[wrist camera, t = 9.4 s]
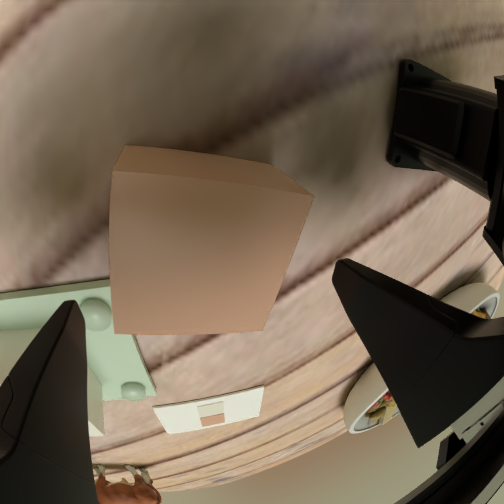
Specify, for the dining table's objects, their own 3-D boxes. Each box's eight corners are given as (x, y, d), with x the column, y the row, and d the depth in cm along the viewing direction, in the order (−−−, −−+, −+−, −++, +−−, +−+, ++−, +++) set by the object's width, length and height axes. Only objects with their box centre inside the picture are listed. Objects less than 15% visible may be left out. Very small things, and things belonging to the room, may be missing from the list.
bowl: (472, 318, 43) (495, 342, 36) (363, 414, 47) (380, 443, 41) (485, 228, 24) (530, 265, 18) (297, 399, 29) (326, 455, 22)
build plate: (115, 278, 13) (113, 293, 12) (156, 389, 19) (158, 402, 18) (-58, 300, 9) (-64, 313, 8) (13, 394, 15) (12, 406, 14)
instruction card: (263, 384, 23) (264, 387, 23) (258, 414, 27) (259, 416, 27) (152, 406, 20) (153, 409, 20) (167, 432, 24) (168, 435, 24)
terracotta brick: (270, 163, 13) (314, 196, 9) (237, 277, 16) (262, 330, 12) (126, 143, 10) (112, 171, 7) (118, 274, 13) (114, 334, 10)
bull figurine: (66, 459, 24) (71, 507, 18) (153, 463, 30) (165, 511, 23) (73, 466, 26) (79, 510, 20) (153, 469, 32) (164, 513, 25)
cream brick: (65, 325, 12) (56, 386, 9) (102, 386, 16) (104, 435, 13) (-13, 331, 11) (-29, 382, 7) (31, 388, 14) (27, 433, 11)
